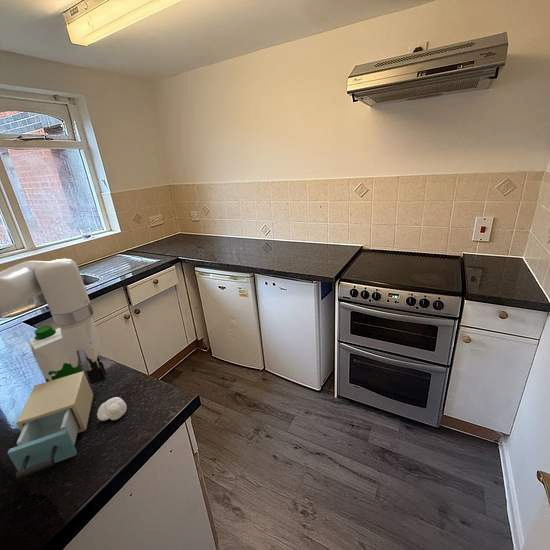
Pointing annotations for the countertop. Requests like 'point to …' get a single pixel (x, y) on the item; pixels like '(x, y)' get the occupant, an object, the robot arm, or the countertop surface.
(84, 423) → the cabinet
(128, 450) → the countertop surface
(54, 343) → the milk carton
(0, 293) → the robot arm
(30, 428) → the drawer
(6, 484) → the countertop surface
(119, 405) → the dumpling
